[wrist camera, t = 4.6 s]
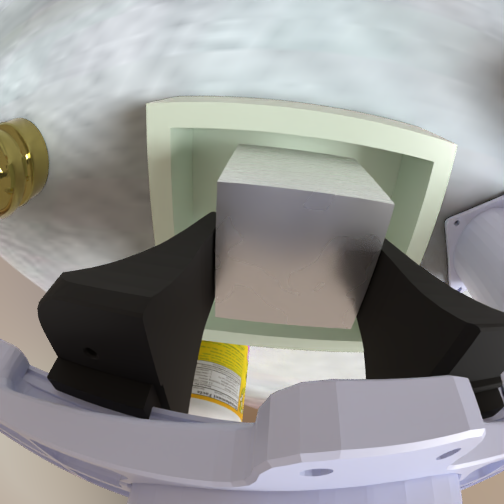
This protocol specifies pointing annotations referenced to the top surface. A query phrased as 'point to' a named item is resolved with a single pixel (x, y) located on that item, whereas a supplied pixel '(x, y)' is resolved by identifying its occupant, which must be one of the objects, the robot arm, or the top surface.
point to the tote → (299, 138)
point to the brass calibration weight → (21, 164)
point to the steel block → (296, 237)
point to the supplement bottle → (220, 381)
